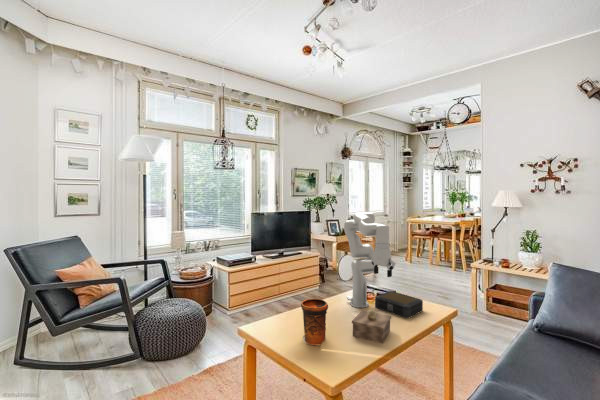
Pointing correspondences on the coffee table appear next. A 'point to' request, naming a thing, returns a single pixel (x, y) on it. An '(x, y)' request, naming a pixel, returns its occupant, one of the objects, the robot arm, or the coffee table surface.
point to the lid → (371, 319)
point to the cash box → (399, 304)
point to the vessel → (314, 320)
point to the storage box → (371, 332)
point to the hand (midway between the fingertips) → (382, 275)
